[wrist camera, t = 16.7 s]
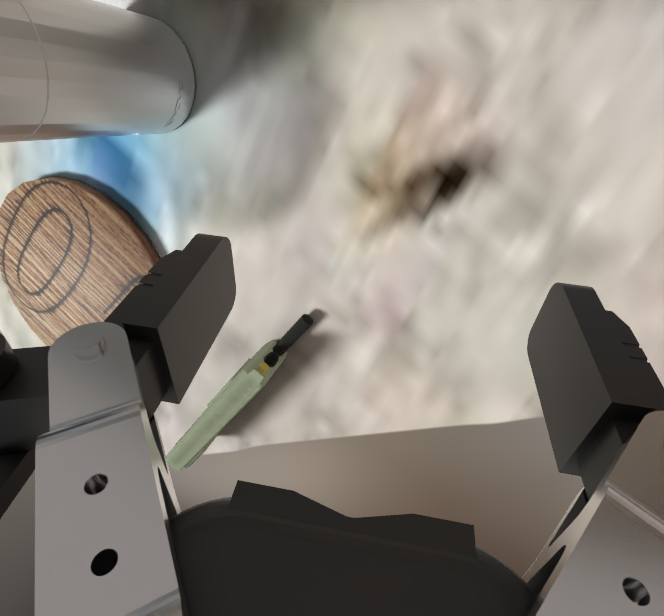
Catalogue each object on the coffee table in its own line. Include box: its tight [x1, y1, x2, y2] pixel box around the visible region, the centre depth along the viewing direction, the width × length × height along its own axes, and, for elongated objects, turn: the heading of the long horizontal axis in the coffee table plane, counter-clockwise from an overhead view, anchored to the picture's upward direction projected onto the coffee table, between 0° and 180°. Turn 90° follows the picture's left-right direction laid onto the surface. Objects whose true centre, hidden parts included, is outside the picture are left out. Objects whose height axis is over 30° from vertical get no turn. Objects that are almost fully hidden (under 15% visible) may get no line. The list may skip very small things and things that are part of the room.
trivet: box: [0, 177, 161, 346], centre depth 51 cm, size 25×25×2 cm
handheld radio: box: [166, 314, 313, 470], centre depth 46 cm, size 7×3×25 cm
